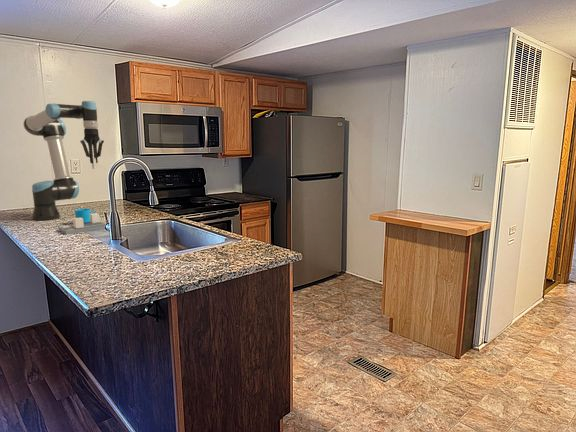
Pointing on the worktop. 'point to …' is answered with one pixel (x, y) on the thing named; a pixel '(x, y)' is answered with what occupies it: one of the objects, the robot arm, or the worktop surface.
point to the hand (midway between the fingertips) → (94, 168)
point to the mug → (83, 214)
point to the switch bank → (86, 228)
